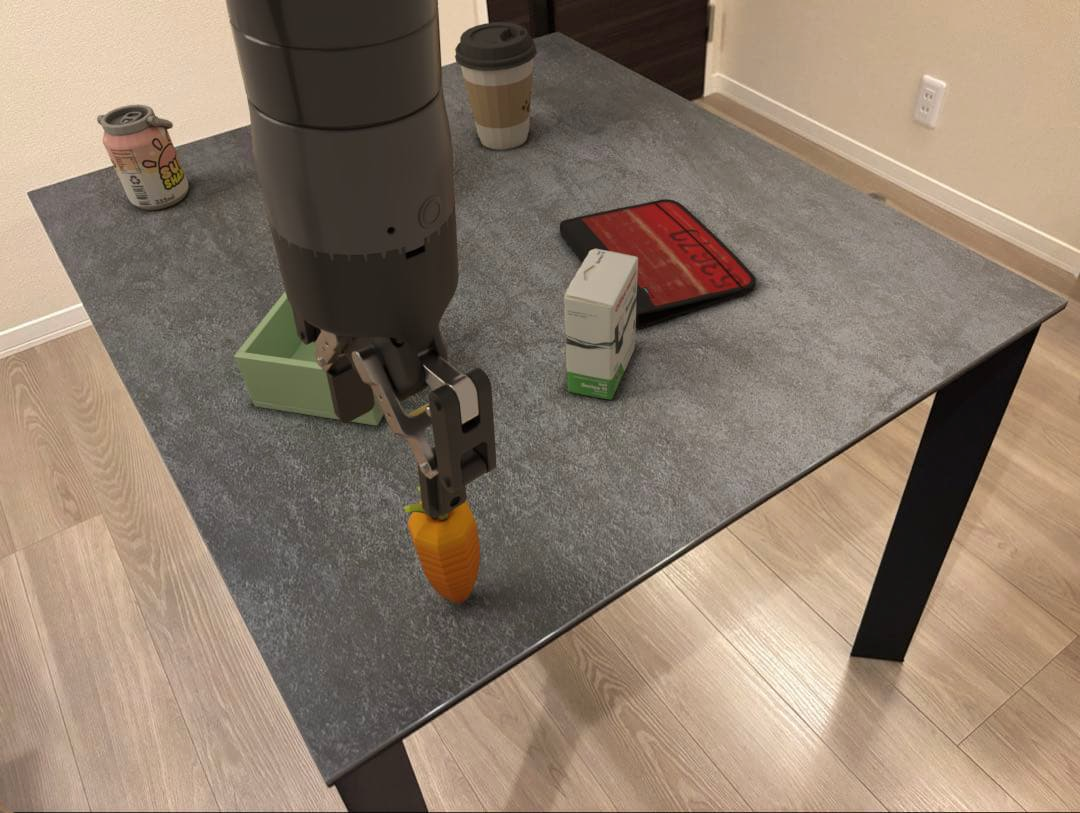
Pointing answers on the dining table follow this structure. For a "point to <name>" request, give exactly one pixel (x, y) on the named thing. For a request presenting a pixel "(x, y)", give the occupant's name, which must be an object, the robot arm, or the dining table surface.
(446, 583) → the carrot
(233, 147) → the dining table surface
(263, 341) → the bin
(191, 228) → the dining table surface
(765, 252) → the dining table surface
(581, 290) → the ink box
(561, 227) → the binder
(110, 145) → the beverage can
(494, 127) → the coffee cup
